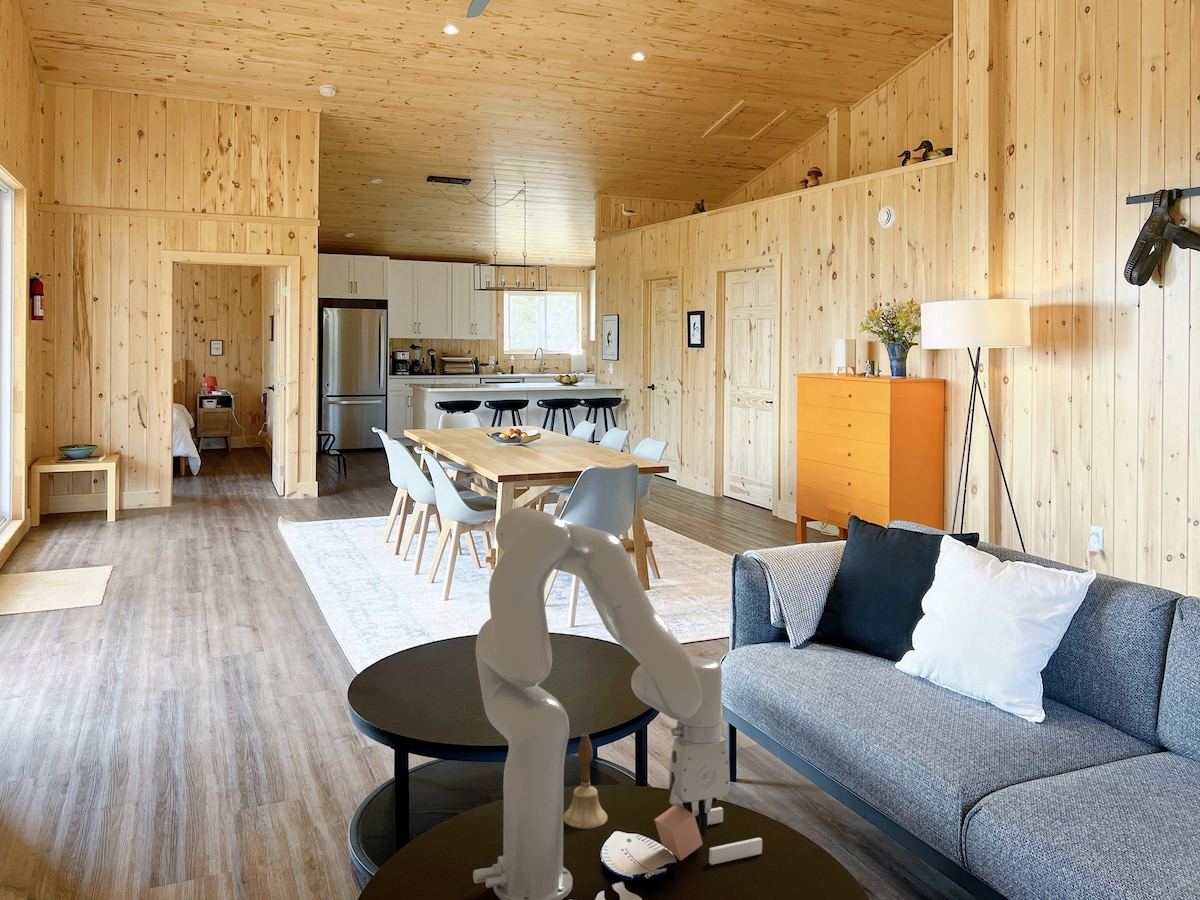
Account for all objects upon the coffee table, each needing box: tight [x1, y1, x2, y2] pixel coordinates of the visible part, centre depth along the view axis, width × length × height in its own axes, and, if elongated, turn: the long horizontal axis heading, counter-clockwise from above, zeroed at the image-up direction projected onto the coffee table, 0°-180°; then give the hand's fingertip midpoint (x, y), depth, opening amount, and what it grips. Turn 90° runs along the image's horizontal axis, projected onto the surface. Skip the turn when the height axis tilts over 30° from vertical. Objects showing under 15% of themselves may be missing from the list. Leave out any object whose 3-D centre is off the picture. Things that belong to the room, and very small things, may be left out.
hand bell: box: [563, 733, 609, 830], centre depth 170 cm, size 8×8×16 cm
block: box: [654, 805, 703, 862], centre depth 158 cm, size 5×5×6 cm
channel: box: [707, 806, 763, 866], centre depth 162 cm, size 10×14×2 cm
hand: (697, 833), depth 160 cm, fingers closed
